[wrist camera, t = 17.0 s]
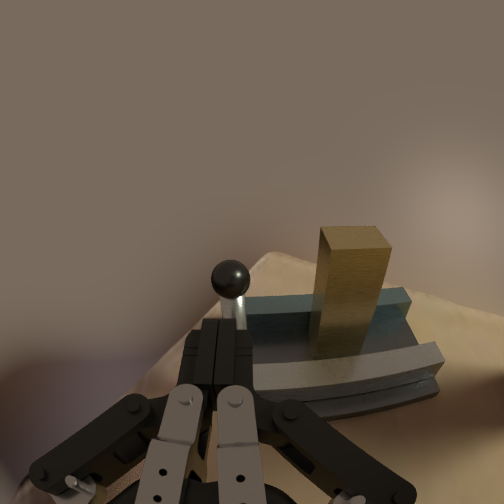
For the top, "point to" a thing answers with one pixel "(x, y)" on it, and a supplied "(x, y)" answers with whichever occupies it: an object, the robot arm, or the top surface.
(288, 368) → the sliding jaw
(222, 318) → the robot arm
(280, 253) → the top surface
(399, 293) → the vise
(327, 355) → the block
